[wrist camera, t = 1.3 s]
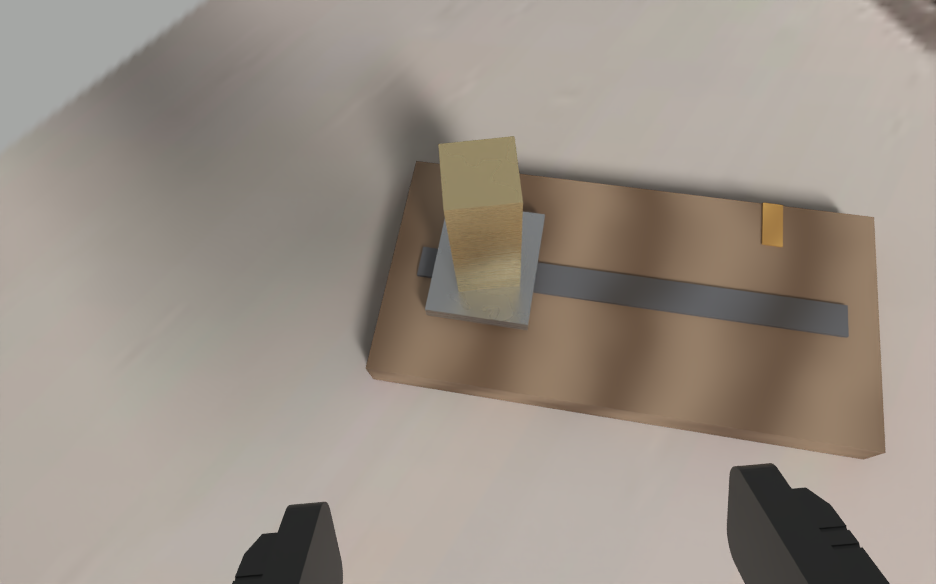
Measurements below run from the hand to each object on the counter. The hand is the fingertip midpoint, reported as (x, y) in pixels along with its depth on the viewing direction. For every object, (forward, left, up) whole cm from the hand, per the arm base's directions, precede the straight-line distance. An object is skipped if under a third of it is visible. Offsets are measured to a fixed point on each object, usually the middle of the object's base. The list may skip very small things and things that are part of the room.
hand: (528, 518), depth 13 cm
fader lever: (-4, +13, -17) cm, 21 cm away
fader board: (+3, +13, -19) cm, 23 cm away
